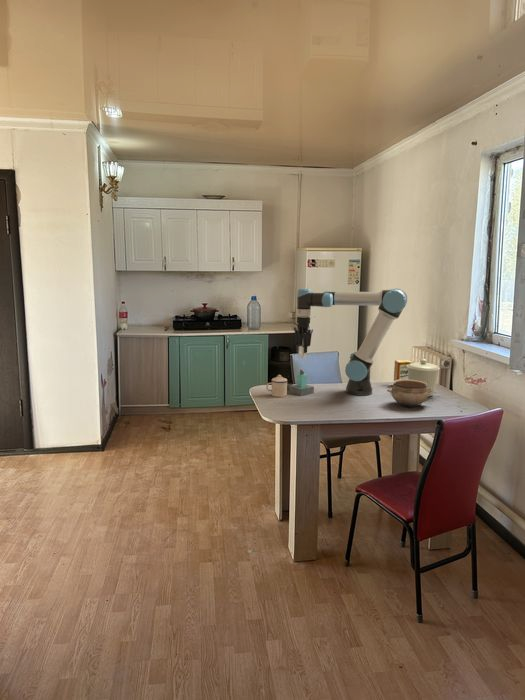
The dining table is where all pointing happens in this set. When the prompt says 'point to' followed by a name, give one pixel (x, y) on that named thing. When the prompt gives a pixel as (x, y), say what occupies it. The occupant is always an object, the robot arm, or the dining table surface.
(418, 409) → the dining table surface
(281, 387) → the teacup with lid
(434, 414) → the dining table surface
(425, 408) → the dining table surface
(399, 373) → the baking soda box
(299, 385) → the aqua plug
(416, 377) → the canister
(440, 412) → the dining table surface
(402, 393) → the cooking pot
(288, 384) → the frame
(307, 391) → the port panel
